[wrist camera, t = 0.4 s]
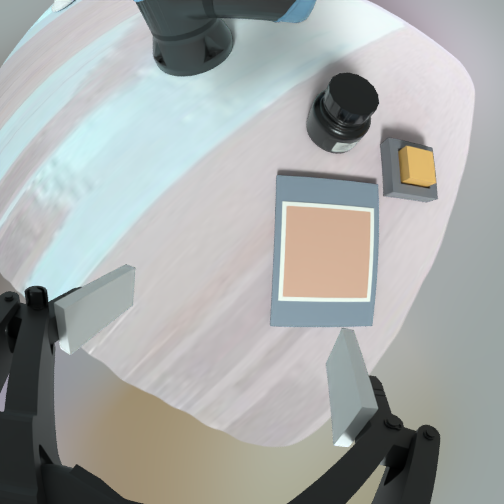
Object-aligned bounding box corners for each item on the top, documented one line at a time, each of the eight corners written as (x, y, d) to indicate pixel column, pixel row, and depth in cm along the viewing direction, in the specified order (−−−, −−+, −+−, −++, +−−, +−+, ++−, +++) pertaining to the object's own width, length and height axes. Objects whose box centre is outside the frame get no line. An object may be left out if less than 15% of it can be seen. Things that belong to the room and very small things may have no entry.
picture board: (276, 177, 40) (276, 175, 39) (375, 186, 40) (378, 184, 38) (270, 324, 40) (270, 326, 39) (369, 323, 40) (372, 326, 38)
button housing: (380, 144, 40) (388, 137, 36) (422, 153, 39) (432, 147, 36) (383, 196, 40) (393, 192, 36) (426, 202, 39) (437, 199, 36)
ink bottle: (341, 166, 40) (369, 138, 28) (294, 135, 40) (306, 97, 28) (366, 125, 40) (395, 91, 28) (323, 97, 40) (340, 55, 28)
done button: (395, 153, 38) (406, 145, 34) (420, 158, 38) (432, 151, 34) (397, 183, 38) (409, 178, 34) (423, 188, 38) (436, 183, 34)
